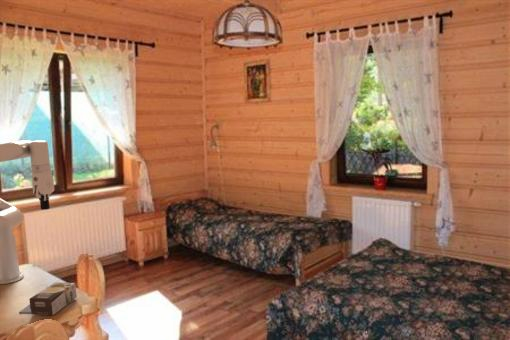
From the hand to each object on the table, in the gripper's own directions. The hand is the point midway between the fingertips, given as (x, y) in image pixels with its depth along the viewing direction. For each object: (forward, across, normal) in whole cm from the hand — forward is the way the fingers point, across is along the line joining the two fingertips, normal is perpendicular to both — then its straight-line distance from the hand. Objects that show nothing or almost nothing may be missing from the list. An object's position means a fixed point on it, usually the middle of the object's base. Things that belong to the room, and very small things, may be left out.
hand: (45, 209), depth 202 cm
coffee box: (+28, -22, -19) cm, 41 cm away
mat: (+32, -30, -13) cm, 45 cm away
